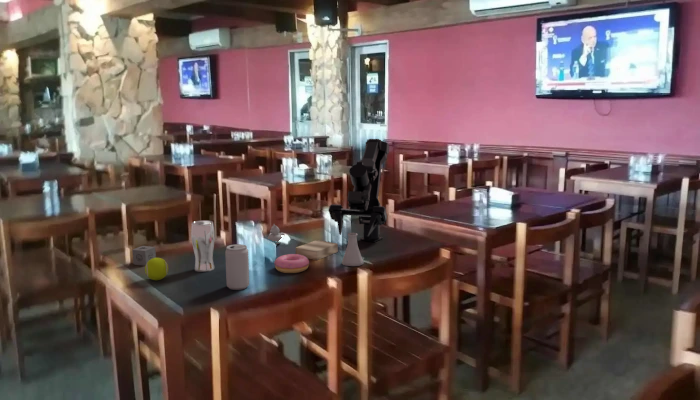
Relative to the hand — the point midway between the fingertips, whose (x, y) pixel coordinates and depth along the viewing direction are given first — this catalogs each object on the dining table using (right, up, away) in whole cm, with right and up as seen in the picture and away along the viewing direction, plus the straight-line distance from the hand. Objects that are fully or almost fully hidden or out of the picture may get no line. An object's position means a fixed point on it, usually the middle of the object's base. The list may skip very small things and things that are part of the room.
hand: (353, 234), depth 192 cm
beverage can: (-33, -14, -22) cm, 42 cm away
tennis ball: (-58, -13, -15) cm, 62 cm away
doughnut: (-19, -11, -5) cm, 23 cm away
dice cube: (-68, -10, +2) cm, 69 cm away
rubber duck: (-28, -5, +25) cm, 38 cm away
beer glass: (-47, -11, -5) cm, 48 cm away
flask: (0, -10, 0) cm, 10 cm away
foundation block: (-12, -7, +11) cm, 18 cm away
